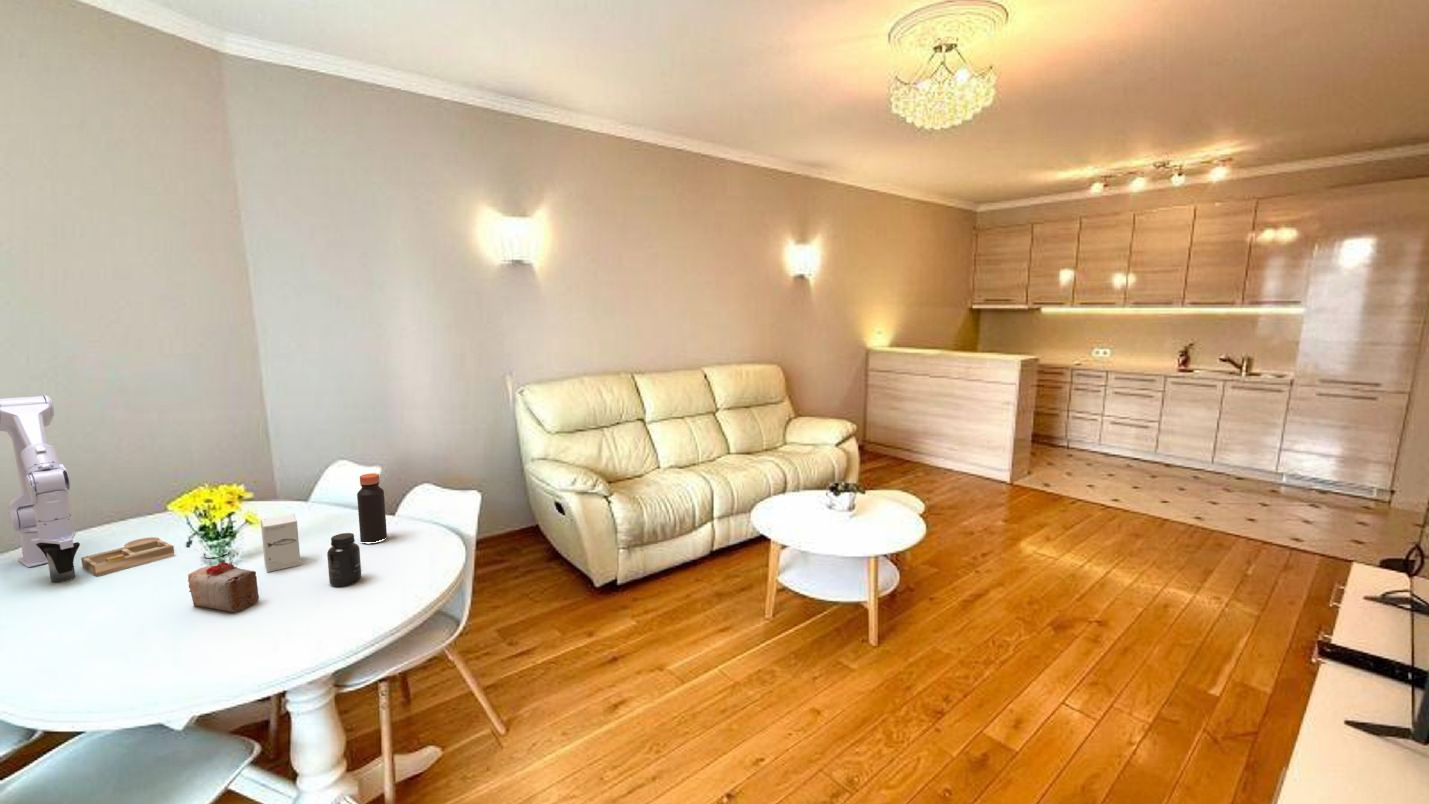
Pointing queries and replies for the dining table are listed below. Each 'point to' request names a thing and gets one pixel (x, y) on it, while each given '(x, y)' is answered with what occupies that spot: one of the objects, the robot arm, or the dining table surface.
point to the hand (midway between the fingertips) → (62, 570)
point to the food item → (223, 587)
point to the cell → (55, 575)
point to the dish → (139, 541)
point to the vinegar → (371, 509)
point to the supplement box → (280, 542)
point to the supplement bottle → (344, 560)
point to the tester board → (127, 557)
